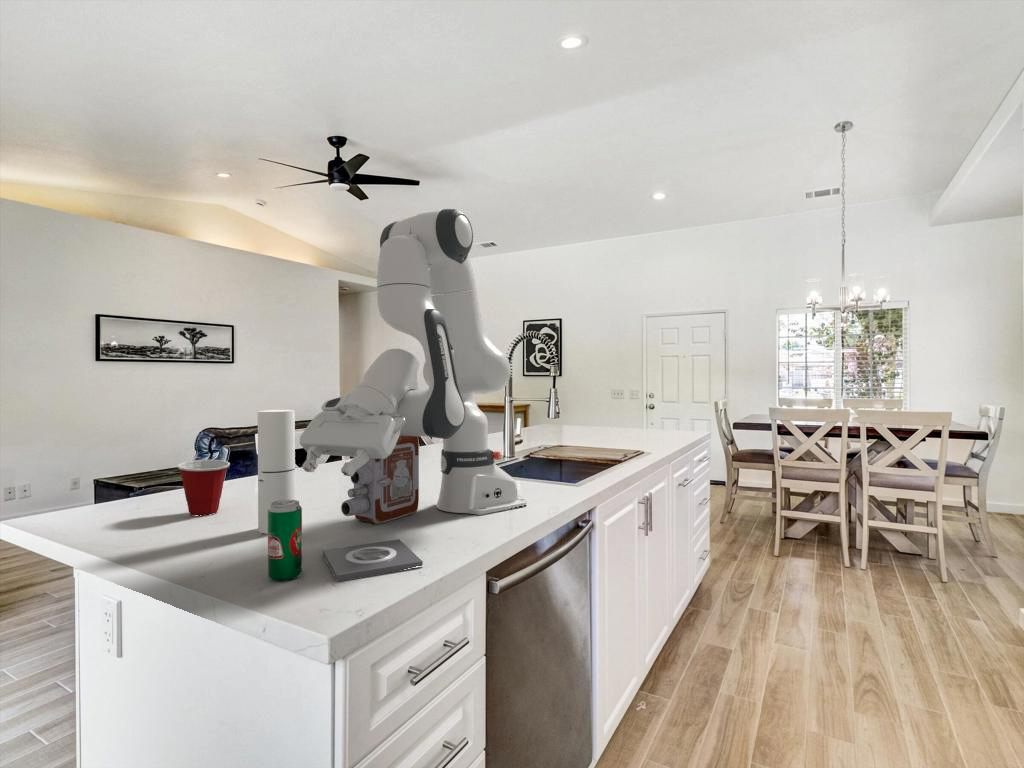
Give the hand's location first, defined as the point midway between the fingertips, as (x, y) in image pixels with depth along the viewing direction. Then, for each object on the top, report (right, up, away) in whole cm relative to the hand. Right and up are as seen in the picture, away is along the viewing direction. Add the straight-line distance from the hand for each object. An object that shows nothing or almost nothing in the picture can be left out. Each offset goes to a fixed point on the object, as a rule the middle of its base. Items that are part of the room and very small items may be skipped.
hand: (325, 472), depth 94 cm
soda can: (-4, -16, -7) cm, 18 cm away
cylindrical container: (-17, -15, +20) cm, 31 cm away
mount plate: (+8, -16, 0) cm, 17 cm away
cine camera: (+2, -15, +28) cm, 32 cm away
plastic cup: (-40, -15, +33) cm, 54 cm away
